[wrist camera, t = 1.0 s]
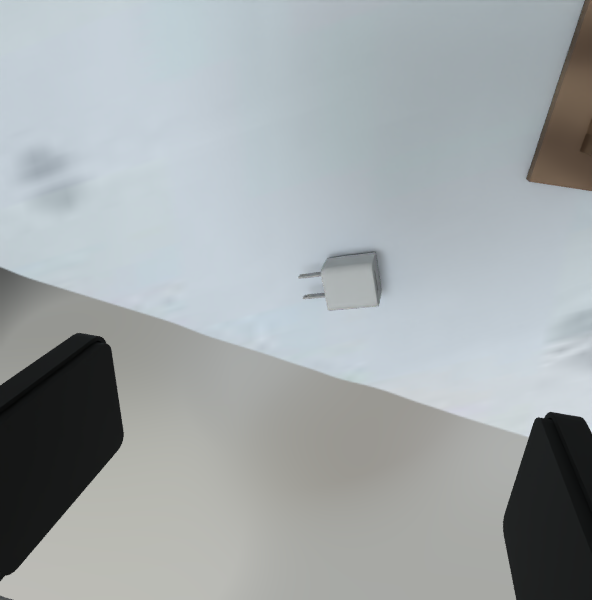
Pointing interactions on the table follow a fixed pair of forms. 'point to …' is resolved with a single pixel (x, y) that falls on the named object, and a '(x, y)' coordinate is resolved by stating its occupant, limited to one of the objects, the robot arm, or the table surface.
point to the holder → (569, 118)
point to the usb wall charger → (349, 282)
